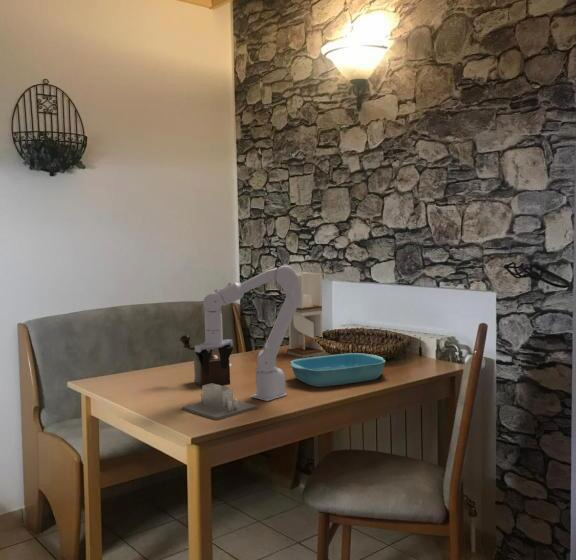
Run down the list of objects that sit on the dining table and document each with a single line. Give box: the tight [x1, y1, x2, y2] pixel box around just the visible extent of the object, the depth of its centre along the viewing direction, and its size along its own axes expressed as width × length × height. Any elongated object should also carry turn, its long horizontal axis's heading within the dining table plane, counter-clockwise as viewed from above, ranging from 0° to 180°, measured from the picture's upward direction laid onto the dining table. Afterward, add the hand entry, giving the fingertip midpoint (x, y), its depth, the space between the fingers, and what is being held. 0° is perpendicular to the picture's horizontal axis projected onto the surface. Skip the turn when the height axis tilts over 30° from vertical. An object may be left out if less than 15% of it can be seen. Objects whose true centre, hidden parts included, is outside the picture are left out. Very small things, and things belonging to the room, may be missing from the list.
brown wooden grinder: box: [179, 334, 231, 388], centre depth 230 cm, size 16×11×18 cm
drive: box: [201, 383, 234, 410], centre depth 200 cm, size 4×10×6 cm, turn 46°
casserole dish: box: [290, 352, 386, 388], centre depth 234 cm, size 37×22×7 cm, turn 117°
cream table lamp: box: [286, 271, 324, 359], centre depth 277 cm, size 11×11×35 cm
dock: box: [181, 393, 258, 421], centre depth 199 cm, size 16×17×4 cm
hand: (215, 370), depth 211 cm, fingers open, 7 cm apart
